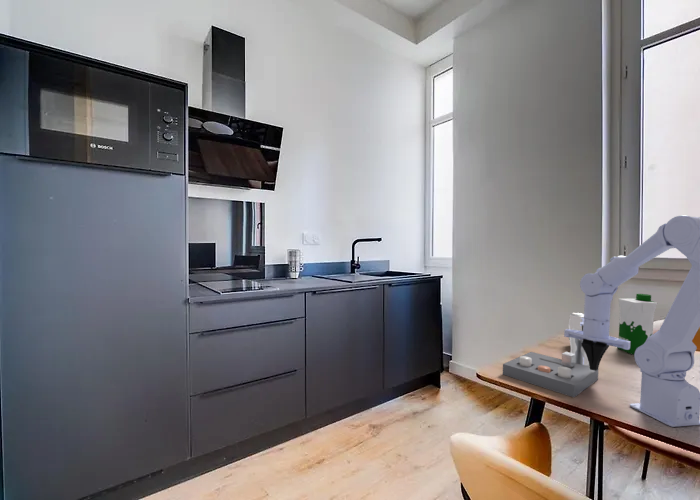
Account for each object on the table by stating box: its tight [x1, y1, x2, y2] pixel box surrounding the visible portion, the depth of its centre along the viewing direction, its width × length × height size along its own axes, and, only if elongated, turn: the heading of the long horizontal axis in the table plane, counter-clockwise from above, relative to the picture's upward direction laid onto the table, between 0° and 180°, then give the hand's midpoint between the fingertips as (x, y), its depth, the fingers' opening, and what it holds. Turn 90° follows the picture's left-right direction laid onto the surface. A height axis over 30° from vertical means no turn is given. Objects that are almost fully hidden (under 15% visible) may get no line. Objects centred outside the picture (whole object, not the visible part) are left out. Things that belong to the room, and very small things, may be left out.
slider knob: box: [561, 351, 575, 367], centre depth 100 cm, size 2×3×3 cm
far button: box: [519, 355, 532, 367], centre depth 101 cm, size 3×3×3 cm
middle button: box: [538, 365, 551, 373], centre depth 97 cm, size 3×3×3 cm
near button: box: [558, 366, 571, 379], centre depth 93 cm, size 3×3×3 cm
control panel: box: [502, 351, 599, 398], centre depth 100 cm, size 18×18×3 cm
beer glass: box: [568, 312, 590, 367], centre depth 112 cm, size 7×7×15 cm
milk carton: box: [616, 293, 658, 355], centre depth 124 cm, size 9×9×20 cm
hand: (593, 369), depth 96 cm, fingers closed
